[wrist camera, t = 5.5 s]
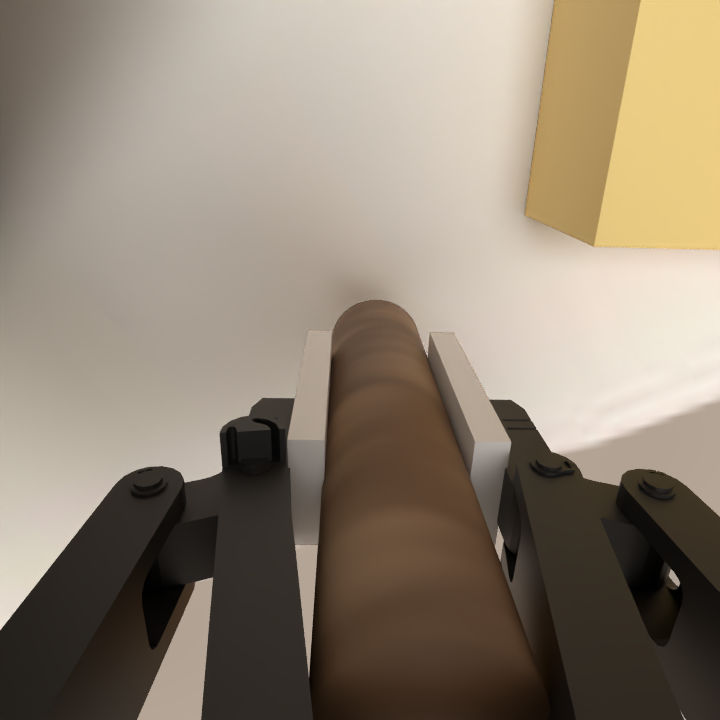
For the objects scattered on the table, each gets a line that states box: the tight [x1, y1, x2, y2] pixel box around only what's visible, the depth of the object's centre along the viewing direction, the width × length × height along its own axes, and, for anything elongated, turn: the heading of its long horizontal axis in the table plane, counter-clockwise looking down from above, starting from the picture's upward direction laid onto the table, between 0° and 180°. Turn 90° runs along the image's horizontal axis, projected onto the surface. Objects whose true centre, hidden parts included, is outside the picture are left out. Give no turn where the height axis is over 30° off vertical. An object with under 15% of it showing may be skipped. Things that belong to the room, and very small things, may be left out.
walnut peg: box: [309, 300, 551, 720], centre depth 14 cm, size 3×3×14 cm
